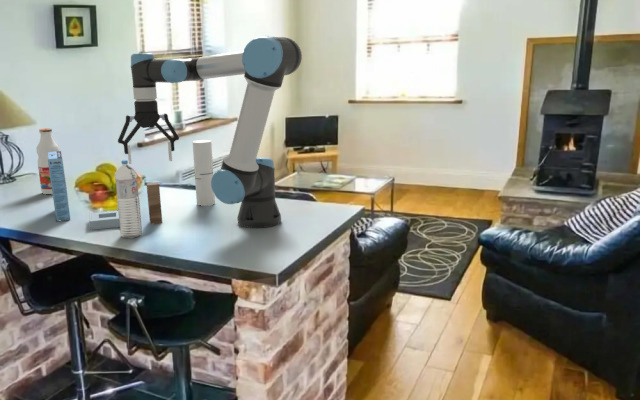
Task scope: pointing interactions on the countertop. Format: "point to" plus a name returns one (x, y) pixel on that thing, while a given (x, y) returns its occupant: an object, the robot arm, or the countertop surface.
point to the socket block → (104, 220)
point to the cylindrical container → (203, 172)
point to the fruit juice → (45, 158)
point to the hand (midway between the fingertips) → (150, 162)
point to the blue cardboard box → (58, 185)
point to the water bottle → (128, 201)
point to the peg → (154, 203)
